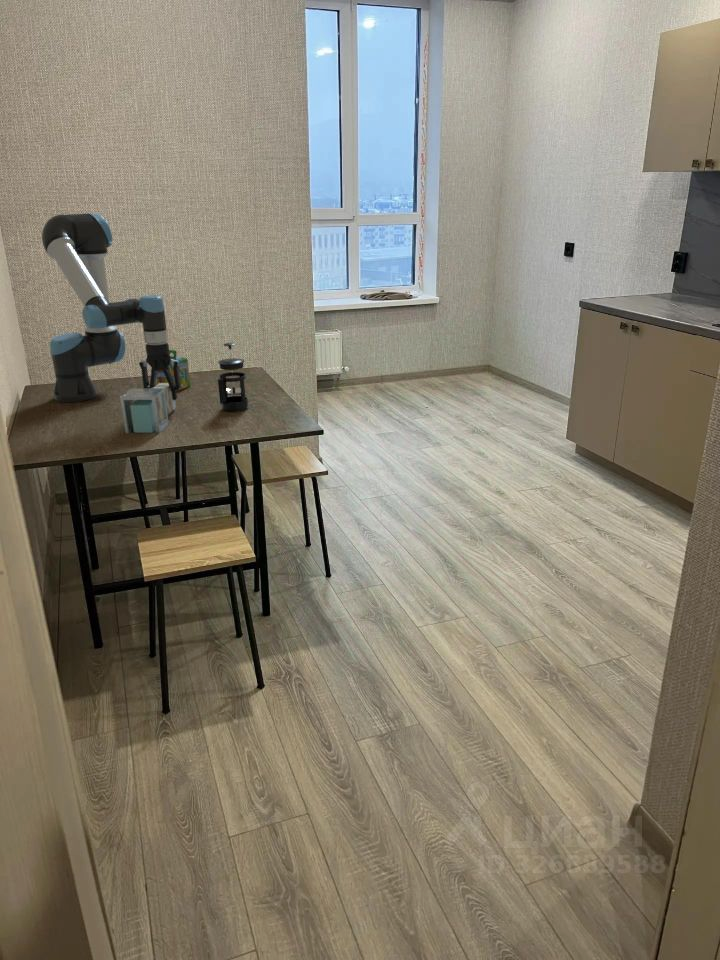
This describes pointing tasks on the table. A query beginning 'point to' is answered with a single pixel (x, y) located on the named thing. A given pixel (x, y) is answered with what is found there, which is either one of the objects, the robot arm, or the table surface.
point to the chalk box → (182, 371)
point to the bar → (159, 401)
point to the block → (143, 416)
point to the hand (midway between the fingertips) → (165, 408)
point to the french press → (233, 401)
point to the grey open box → (143, 394)
